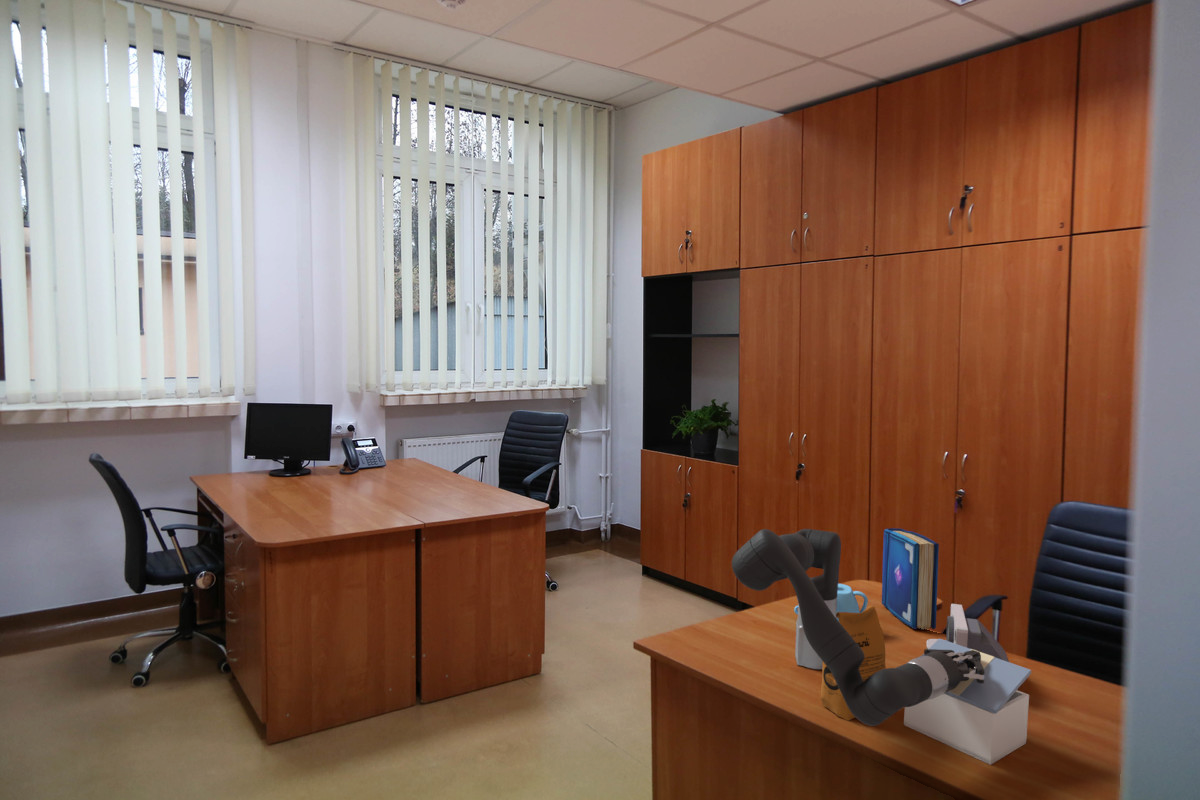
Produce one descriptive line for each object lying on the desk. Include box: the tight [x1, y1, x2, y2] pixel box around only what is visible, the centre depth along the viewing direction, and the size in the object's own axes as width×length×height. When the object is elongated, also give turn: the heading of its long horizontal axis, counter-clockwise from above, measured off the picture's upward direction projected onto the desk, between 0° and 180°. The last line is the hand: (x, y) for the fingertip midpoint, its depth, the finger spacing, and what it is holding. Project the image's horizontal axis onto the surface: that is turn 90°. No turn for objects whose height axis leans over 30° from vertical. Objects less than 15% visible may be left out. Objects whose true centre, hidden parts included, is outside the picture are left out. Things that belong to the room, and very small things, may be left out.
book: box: [881, 527, 940, 630], centre depth 219 cm, size 22×7×25 cm, turn 5°
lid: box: [922, 637, 1032, 714], centre depth 152 cm, size 14×19×1 cm
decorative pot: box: [793, 582, 869, 621], centre depth 210 cm, size 16×16×14 cm
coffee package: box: [820, 605, 886, 721], centre depth 163 cm, size 10×12×22 cm
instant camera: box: [925, 603, 1019, 691], centre depth 180 cm, size 21×21×15 cm
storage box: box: [903, 690, 1030, 766], centre depth 153 cm, size 14×18×10 cm
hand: (976, 655), depth 154 cm, fingers closed
